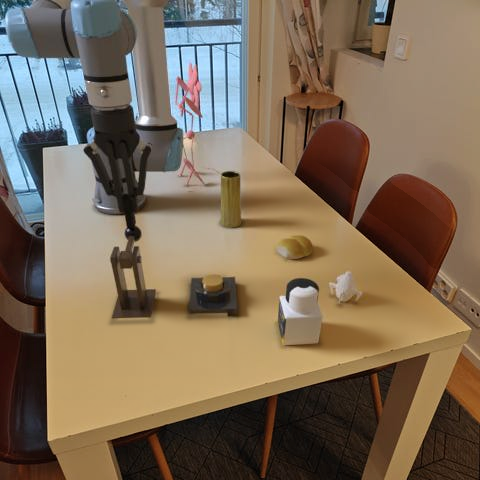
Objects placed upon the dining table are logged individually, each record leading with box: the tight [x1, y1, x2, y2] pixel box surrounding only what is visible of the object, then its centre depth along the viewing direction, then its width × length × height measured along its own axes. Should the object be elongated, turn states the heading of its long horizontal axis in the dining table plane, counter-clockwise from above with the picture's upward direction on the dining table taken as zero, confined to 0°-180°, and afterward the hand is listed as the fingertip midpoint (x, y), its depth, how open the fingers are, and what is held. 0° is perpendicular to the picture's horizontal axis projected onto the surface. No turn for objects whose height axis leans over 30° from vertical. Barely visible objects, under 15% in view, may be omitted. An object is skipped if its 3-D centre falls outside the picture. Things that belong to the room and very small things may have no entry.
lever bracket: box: [109, 245, 156, 319], centre depth 89 cm, size 10×8×14 cm
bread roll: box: [276, 234, 314, 260], centre depth 111 cm, size 8×9×4 cm
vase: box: [220, 170, 242, 229], centre depth 120 cm, size 6×6×14 cm
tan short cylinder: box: [202, 273, 223, 292], centre depth 93 cm, size 4×4×2 cm
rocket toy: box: [328, 270, 363, 305], centre depth 94 cm, size 5×5×8 cm
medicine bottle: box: [277, 277, 323, 346], centre depth 84 cm, size 7×7×12 cm
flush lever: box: [119, 225, 143, 270], centre depth 90 cm, size 13×4×4 cm, turn 3°
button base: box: [188, 276, 238, 317], centre depth 95 cm, size 12×10×4 cm
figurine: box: [174, 62, 219, 193], centre depth 140 cm, size 15×26×35 cm, turn 19°
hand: (131, 225), depth 92 cm, fingers closed
